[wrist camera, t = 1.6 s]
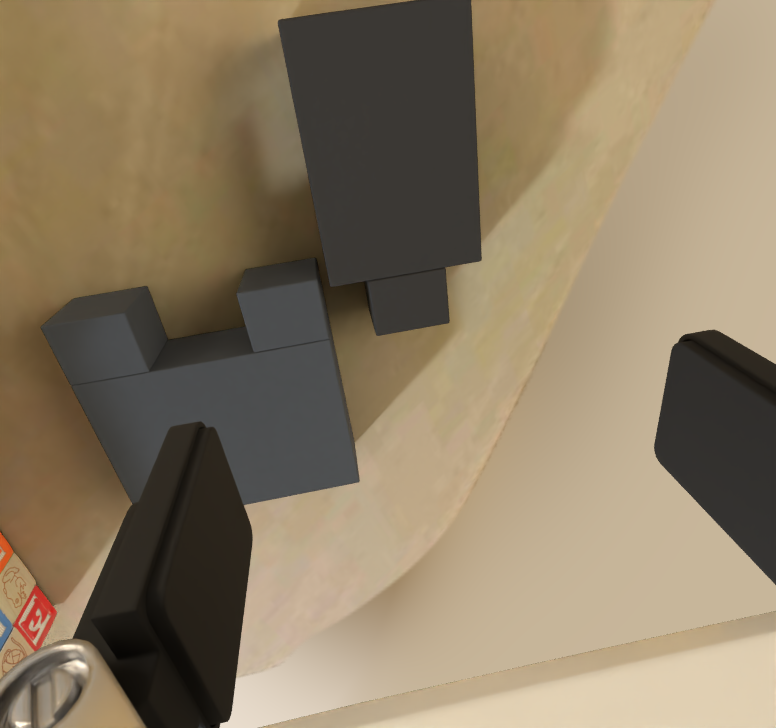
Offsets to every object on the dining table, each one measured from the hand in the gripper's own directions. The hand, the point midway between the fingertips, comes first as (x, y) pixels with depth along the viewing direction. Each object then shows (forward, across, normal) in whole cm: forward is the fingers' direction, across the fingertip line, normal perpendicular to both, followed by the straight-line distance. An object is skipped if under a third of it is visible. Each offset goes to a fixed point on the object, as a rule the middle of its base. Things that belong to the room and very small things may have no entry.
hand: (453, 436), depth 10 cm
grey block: (+17, +9, +7) cm, 20 cm away
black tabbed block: (+17, -1, -2) cm, 17 cm away
